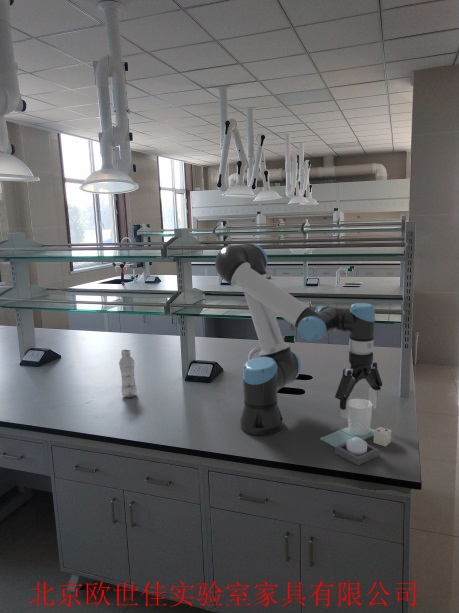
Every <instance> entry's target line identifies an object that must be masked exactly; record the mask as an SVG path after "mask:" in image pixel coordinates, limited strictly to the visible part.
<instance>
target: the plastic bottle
mask: <svg viewBox="0 0 459 613" xmlns="http://www.w3.org/2000/svg"><path fill="white" fill-rule="evenodd" d="M120 356H121V358H120V359H119V362H118V367H119V369H120V375H121V389H120V390H121V395H122V397H124V398H132V397H133V398H134V397H135V396H136V395H137V392H138V387H137V384H136V379H135V360H134V358H133V357H132V356H131V349H129V348H128V349H122V350H121V355H120Z"/></svg>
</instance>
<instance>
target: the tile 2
mask: <svg viewBox="0 0 459 613" xmlns="http://www.w3.org/2000/svg"><path fill="white" fill-rule="evenodd" d="M339 430H340V431H342V432H344V433H346V434H348V435H350V436H352V437H358V438H361V439H362V440H364V441H365V440H367V439H369V438H371V437H374V431H375V430H376V429H373V428H371V427H370V433H369V434H368V435H365V436H358V435H354V434H351V433H350V432H349V426H347V427H345V428H342V429H339Z"/></svg>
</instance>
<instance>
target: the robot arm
mask: <svg viewBox="0 0 459 613" xmlns="http://www.w3.org/2000/svg"><path fill="white" fill-rule="evenodd" d="M268 258H269V257H268V255H267V253H266V250H265V249H264V248H263V247H261V245H258V244H256V243H250V242H249V243H242V244H236V245H228V246H225V247H223V248H222V249H220V251H218V253H217V254H216V256H215V261H214V264H215V269H216V271H217V274H218V275H219V276H220V278H222V279H223V280H224V282H226V283H228V284H229V285H230V286H232V288H233V287H234V288H240V289H241V290H243V295H244V297H245V300H246V303H247V307H248V310H249V312H250V316H251V320H252V323H253V325H254V330H255V332H256V336H257V338H258V339H257V340H258V342H259V345H260V348H261V350H260V352H259V354H258V357H253V358H251V359H249V360H247V361H246V362H245V363H244V364H243V368H242V383H243V408H242V411H241V415H240V418H239V427H240V429H241V430H242V431H243V432H245V433H246V434H248V435H253V436H254V435H255V436H269V435H274V434H276V433H278V432H280V431H281V430H282V429H283V428H284V418H283V416H282V413H281V411H280V408H279V405H278V404H279V403H278V402H279V401H278V400H279V399H278V391H279V390H281V389H282V388H285V386H287V385H289V384H291V383H293V382H295V379H297V378H298V377H299V374H300V373H301V368H302V364H301V361H300V357H299V355H297V353H296V352H294V351H292V350H291V348H290V345H289V344H288V343H286V342H285V341H284V338H283V335H282V331H281V330H280V326H279V322H278V319H277V315H278V316H280V317H281V318H282V319H283V320H285V321H286V322H288V323H290V324H291V325H292V326H294V327H295V328H297V332H298V334H299V335H300V338H302V340H304V341H306V342H315V341H318V340H321V339H322V338H324V337H325V336H327V335H329V334H331V333H333V332H334V331H336V332H337V331H339V332H344V333H349V338H348V339H349V342H348V350H349V351H348V363H349V365H350V368H343V370H342V376H341V379H340V381H339V384H338V387H337V390H336V391H335V392H336V393H335V395H334V396H335V399H338V400H339V408H340V415H339V416H340V417H341V418H343V419H345V420H347V421H348V418H349V400H350V399H349V397H350V395H351V393H352V391H354V388H355V386H356V384H358V383H359V381H361V380H364V379H365V381H366V382H367V383H368V384H369V386H370V388H369V387H368V399H367V400H368V401H370V402H371V403H372V409H375V410H376V409H377V398H378V391H381V387H383V382H382V378H381V375H380V372H379V369H378V362H375V361H374V353H373V351H374V342H375V325H376V311H375V310H376V308H375V306H374V305H373V304H370V303H367V302H356V303H353V304H351V305H350V308H343V307H334V306H329V305H326V306H325V305H324V306H323V305H319V306H317V307H316V308H315V310H314V309H312V308H310V307H309V306H308V305H306V304H305V303H303V302H302V301H300V300H299V299H297V297H295V296H293V295H292V294H290V293H289V292H287V291H286V290H284V289H283V288H281V287H280V286H279V285H277V284H275V283H274V282H272V281H271V280H269V279H268V278H266V277H267V275H268V274H267V271H266V268H267V265H268V262H269V259H268ZM276 314H277V315H276Z"/></svg>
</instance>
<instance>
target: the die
mask: <svg viewBox="0 0 459 613" xmlns="http://www.w3.org/2000/svg"><path fill="white" fill-rule="evenodd" d="M374 430H375V431H374V436H373V444H377V445H380V446H382V447H385V448H386V447H387V446H388V445H390V443H391V442H392V429H388V428H385V427H381V426H378V427H377V428H376V429H374Z"/></svg>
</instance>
